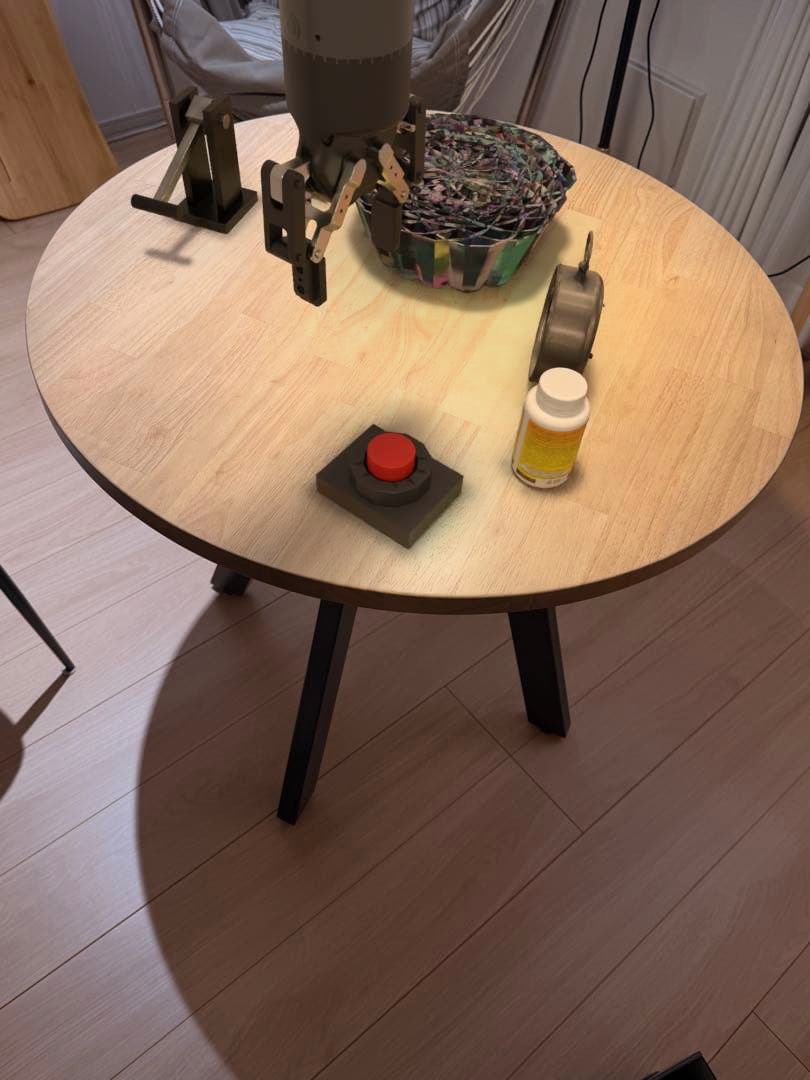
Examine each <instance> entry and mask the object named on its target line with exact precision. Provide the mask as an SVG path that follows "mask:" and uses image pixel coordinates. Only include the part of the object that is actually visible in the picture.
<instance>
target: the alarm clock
mask: <svg viewBox="0 0 810 1080" xmlns="http://www.w3.org/2000/svg"><path fill="white" fill-rule="evenodd" d="M586 237H587V238H586V241H585V242H586V243H585V247H584V252H583V253H584V254H583V260H582V261H580V262H579V263H578V266H577V267H576V266H571V265H566V264H563V263H559V264H557V265H556V266H555V268H554V271H553V274H552V276H551V279H550V282H549V284H548V288H547V293H546V294H545V299H544V302H543V305H542V306H543V307H542V310H541V313H540V314H541V315H540V318H539V322H538V326H537V330H536V333H535V338H534V343H533V346H532V352H531V356H530V362H529V366H528V367H529V368H528V376H527V377H528V378H527V379H528V381H529V382H530V383H534V384H539V380H540V377H541V376H542V374H543V373H544V372H546V371H547V370H549V369H553V368H568V369H571V370H574V371H576V372H578V373H579V374H580V375H582V376H583V373H584V372H585V369H586V367H587V364H588V361H589V360H592V359H593V357H594V354H593V353H592V349H593V346H594V343H595V339H596V337H597V336H596V335H597V333H598V328H599V325H600V321H601V315H602V312H603V308H605V306H606V304H604V297H605V283H604V279H603V277H602V276H601V274H600V273H598V271H594V270H590V261H591V258H592V253H593V246H594V231H593V230H589V231H588V234H587V236H586Z"/></svg>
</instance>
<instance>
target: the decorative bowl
mask: <svg viewBox="0 0 810 1080" xmlns="http://www.w3.org/2000/svg"><path fill="white" fill-rule="evenodd" d="M403 160H405V161H407V162H410V155H409V153H408V151H406V150H404V149H403ZM577 181H578V179H577V174H576V169H575V166H574V165H573V164H571V163H570V162H569V161H568V160H567V159H566V158H564V157H563V156H562V155H561V154H559V152H558V150H557V149H556V148H554V146H553V145H552V144H551V143H550V142H548V141H547V140H546V139H544V137H542V136H541V135H539V134H537V133H535V132H533V131H530V130H527V129H524V128H520V127H518V126H517V125H515V124H514V123H513V124H512V123H508V122H504V121H500V120H496V119H493V118H490V117H485V116H482V115H479V114H471V113H470V114H467V113H452V112H451V113H442V112H435V113H426V133H425V165H424V177H423V179H422V181H421V183H420V184H418V185H416V184H414V183H412V184H411V186H410V187H409V195H408V198H407V200H406V201H405V202H404V203H403V205H402V224H401V225H402V227H401V234H400V246H399V248H397V249H396V250H395V251H393V252H388V251H386V250H384V249H381V248H379V247H377V246H375V245H374V244H373V243H372V240H371V198H372V197H373V196H375V195H376V194H377V192H375V191H374V190H373V191H372V192H370V193H369V194H365V195H361V196H360V197H359V198H358V199H357V200H356V202H355V203H354V204H355V206H356V208H357V211H358V214H359V217H360V220H361V222H362V225H363V227H364V231H365V233H366V236H367V237H368V239H369V241H370V244H371V246H372V248H373V249H374V250H375V252H377V255H378V257H379V259H380V261H381V262H382V264H383V265H385V266H387V267H389V268H392V269H396V270H397V272H398V273H399V274H400V275H401V277H402V278H403V279H406V280H410V281H420V282H421V284H423V285H425V286H429V287H431V288H435V289H443V288H445V287H447V286H448V288H449V289H452V290H455V291H458V292H460V293H463V294H470V293H474V292H478V291H480V290H481V289H482V288H483V287H484V286H487V287H494V288H495V287H501V286H503V285H505V284H507V282H508V281H509V279H510V278H511V277H512V276H513V275H515V274H517V272H518V270H519V269H520V267H521V266H522V264H523V263H525V262H526V261H527V259H528V257H529V256H530V254H531V253H532V251H533V249H534V248H535V246H536V245H537V243H538V241H539V240H540V238H541V237H542V235H543V234H544V232H545V230H546V229H547V228H548V226H549V224H550V223H552V222H553V221H554V219H555V216H556V214H557V213H559V212H560V211H561V209H562V208H563V206H564V204H566V203H567V200H568V197H567V191H569V190H571V189H572V187H573V186H574V185H575V183H576V182H577Z"/></svg>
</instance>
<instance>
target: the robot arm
mask: <svg viewBox="0 0 810 1080" xmlns="http://www.w3.org/2000/svg"><path fill="white" fill-rule="evenodd" d="M278 9H279V23H280V37H281V39H280V40H281V52H282V53H281V54H282V66H283V78H284V81H283V82H284V92H285V93H284V94H285V103H286V104H285V105H286V107H287V110H288V112H289V114H290V115H291V117H292V120H293V122H294V123H295V125H296V127H297V131H298V142H297V146H296V152H295V157H293V158H292V159H289V160H287V161H286V162H283V163H278V162H276V161H274V160H272V159H267V160H264V161H263V163H262V165H261V167H260V187H261V203H262V204H261V205H262V219H263V220H262V222H263V236H264V238H263V239H264V250H265V252H266V253H268V254H270V255H272V256H274V257H276V258H278V259H280V260H282V261H283V262H285V263H287V264H290V265H291V271H292V272H291V274H292V286H293V293H294V294H295V296H297V297H299V298H300V299H301V300H303V301H305V302H307V303H309V304H310V305H312V306H315V307H317V308H318V307H321V306H322V305H323V304H325V303H326V302H327V301H328V288H327V263H326V261H327V260H326V257H325V256H324V255H325V253H326V250H327V247H328V245H329V242H330V239H331V237H332V233H333V232H335V231H338V230H340V229H341V228H342V225H343V223H344V220H345V218H346V215H347V212H348V210H349V208H350V206H352V205H354V204H355V202H356V200H357V199H358V198H359V197H360V196H361V195H365V194H369V193H370V192H372V191H373V190H374V191H375V192H377V194H376V195H375V196H373V197H372V198H371V240H372V243H373V244H374V245H375V246H377V247H379V248H381V249H384V250H386V251H388V252H393V251H395V250H396V249H397V248H399V246H400V234H401V227H402V225H401V224H402V205H403V203H404V202H405V201H406V200H407V198H408V195H409V187H410V186H411V184H412V183H414V184H416V185H418V184H420V183H421V181H422V179H423V177H424V165H425V133H426V114H427V100H426V99H425V98H422V97H419V96H417V95H416V94H413V93H411V84H412V83H411V82H412V81H411V80H412V62H413V39H414V15H415V0H278ZM403 149H404V150H406V151H408V153H409V155H410V162H407V161H405V160H403ZM314 193H315V194H316V195H317V197H318V198H319V199H321V200H323V201H326V202H327V203H329V204H330V205H329V208H328V209H326V210H322V209H320V208H317V207H315V206H314V205H313V204H312V197H313V195H314ZM311 220H312V221H314V222H315V223H316V228H315V230H314V232H313V235H312V238H311V239H310V238H308V237H307V236H306V235H307V229H308V226H309V223H310V221H311ZM283 230H284V231H285V232H286V235H284V234H283V232H284V231H283ZM283 235H284V236H283Z"/></svg>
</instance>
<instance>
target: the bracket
mask: <svg viewBox="0 0 810 1080" xmlns="http://www.w3.org/2000/svg"><path fill="white" fill-rule="evenodd" d="M195 95H197V96H200V95H199V88H198V86H193V85H188V86H187V87H186V88H184V89H183V90H182V91H181V92H179V93H178V94H177V95H175V96H174V97H173V98H171V99H170V100H169V101H168V106H169V112H170V117H171V123H172V128H173V134H174V140H175V144H176V150H177V149H178V147H179V145H180V143H181V141H182V139H183V137H184V135H185V133H186V131H187V129H188V127H189V124H188V121H187V119H186V117H185V114H186V112H187V110H188V108H189V106H190V104H191V102H192V100H193V98H194V96H195ZM202 113H203V120H204V126H205V133H206V135H203V134H201V136H200V138H199V140H198V142H197V144H196V146H195V148H194V150H193V152H192V154H191V156H190V158H189V160H188V162H187V164H186V166H185V168H184V170H183V172H182V175H181V177H182V182H183V183H182V184H183V188H184V194H185V197H184V198H183V199H181V201H180V202H179V203H178V204H177V205H179V206H182V207H183V210H184V214H183V218H182V219H181V220H176V219H173V220H174V221H178V222H182V223H185V224H189V225H193V226H197V227H201V228H204V229H208V230H211V231H215V232H219V233H222V234H225V235H227V234H228V233H229V232H230V231H231V230H232V228H234V226H236V224H238V222H239V221H240V220H241V219H242V218H243V217H244V216H245V215H246V214H247V213H248V212H249V211H250V210H251V208H252V207H253V206H254V205H255V204H256V203H257V202H258V201H259V197H258V191H257V190H253V189H250V188H246V187H243V186H242V180H241V179H242V178H241V170H240V164H239V163H240V162H239V155H238V146H237V140H236V130H235V122H234V114H233V113H234V112H233V106H232V99H231V94H228V93H223V92H221V94H220V95H218V96H217V97H216V98H215V99H213V101H212V102H211V103H210V104H209V105H208V106H207V107H205V108H204V109H203V110H202Z"/></svg>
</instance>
